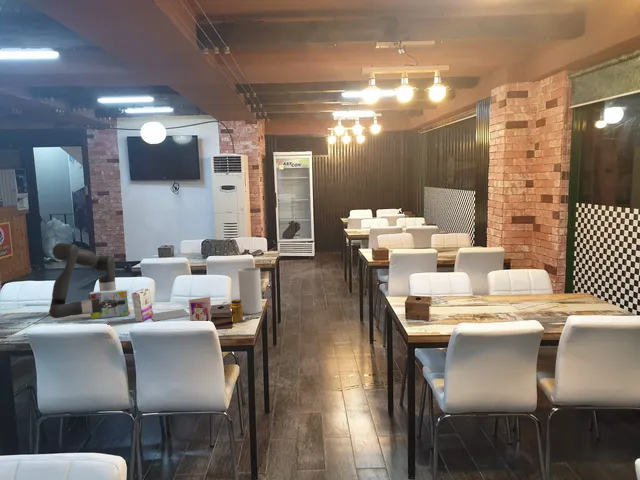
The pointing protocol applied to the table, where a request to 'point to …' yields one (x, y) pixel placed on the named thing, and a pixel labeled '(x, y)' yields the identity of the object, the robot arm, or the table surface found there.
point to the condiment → (237, 312)
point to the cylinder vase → (250, 290)
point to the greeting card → (200, 309)
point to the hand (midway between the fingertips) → (124, 301)
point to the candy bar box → (142, 305)
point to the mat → (169, 315)
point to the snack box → (112, 295)
